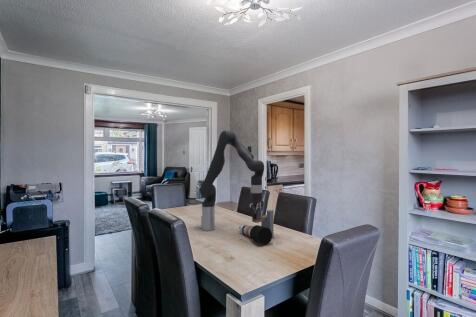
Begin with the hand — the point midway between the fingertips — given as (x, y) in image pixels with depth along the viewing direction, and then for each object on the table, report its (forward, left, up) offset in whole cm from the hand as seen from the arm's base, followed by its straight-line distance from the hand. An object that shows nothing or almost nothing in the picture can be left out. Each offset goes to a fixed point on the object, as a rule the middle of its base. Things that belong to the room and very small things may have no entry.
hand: (256, 218), depth 166 cm
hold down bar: (0, +7, -2) cm, 7 cm away
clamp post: (+1, +10, -14) cm, 18 cm away
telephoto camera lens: (-6, +2, -15) cm, 16 cm away
